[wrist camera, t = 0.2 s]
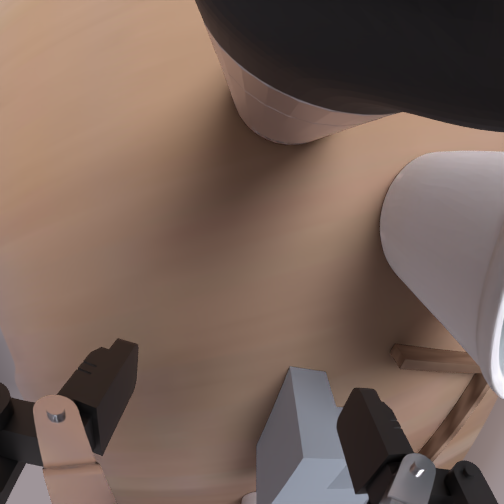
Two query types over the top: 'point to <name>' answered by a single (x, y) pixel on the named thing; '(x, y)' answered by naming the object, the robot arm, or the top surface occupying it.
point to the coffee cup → (249, 498)
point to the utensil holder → (453, 247)
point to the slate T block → (303, 446)
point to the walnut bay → (445, 363)
